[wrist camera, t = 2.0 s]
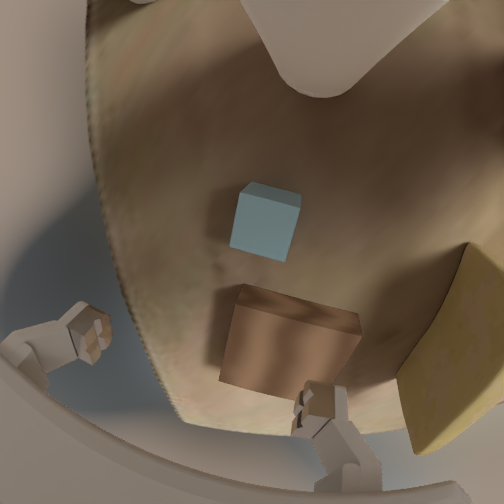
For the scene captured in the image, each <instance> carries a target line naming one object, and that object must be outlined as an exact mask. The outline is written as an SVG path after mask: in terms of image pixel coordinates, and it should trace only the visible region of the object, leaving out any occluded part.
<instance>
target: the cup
mask: <svg viewBox="0 0 504 504" xmlns="http://www.w3.org/2000/svg"><path fill="white" fill-rule="evenodd" d="M130 1H132V2H134V3H137V4H146V3H151V2H154V1H157V0H130Z"/></svg>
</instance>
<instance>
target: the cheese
mask: <svg viewBox="0 0 504 504" xmlns="http://www.w3.org/2000/svg"><path fill="white" fill-rule="evenodd" d="M396 379H397V385H398V390H399V396H400V401H401V406H402V410H403V415H404V418H405V422H406V425H407V429H408V433H409V436H410V440H411V444H412V448H413V452H414V454H416V455H427V454H430V453H432V452H434V451H436V450H438V449H439V448H441V447H443V446H444V445H445V444H447V443H448V442H449V441H451V440H452V439H454V438H455V437H456V436H457V435H459V434H460V433H461V432H463V431H464V430H465V429H467V428H468V427H469V426H471V425H472V424H473V423H474V422H476V421H477V420H478V419H479V418H480V417H482V416H483V415H484V414H485V413H486V412H487V411H488V410H490V409H491V408H492V407H493V406H494V405H495V404H497V403H498V402H499V401H500V400H501V399H502V398H503V397H504V264H503V263H502V262H501V261H499V260H498V259H497V258H496V257H494V256H493V255H492V254H490V253H489V252H488V251H486V250H485V249H483V248H482V247H480V246H479V245H477V244H475V243H469V244H468V245H467V246H466V249H465V251H464V254H463V257H462V260H461V262H460V265H459V268H458V270H457V273H456V275H455V278H454V280H453V282H452V285H451V287H450V289H449V292H448V294H447V296H446V298H445V300H444V302H443V304H442V306H441V308H440V310H439V312H438V314H437V316H436V317H435V319H434V321H433V322H432V324H431V325H430V327H429V328H428V330H427V331H426V333H425V334H424V335H423V337H422V338H421V339H420V341H419V342H418V343H417V345H416V346H415V348H414V349H413V350H412V352H411V353H410V355H409V356H408V358H407V359H406V360H405V362H404V363H403V365H402V366H401V367H400V369H399V370H398V372H397V374H396Z"/></svg>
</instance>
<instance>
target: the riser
mask: <svg viewBox="0 0 504 504" xmlns="http://www.w3.org/2000/svg"><path fill="white" fill-rule="evenodd" d="M361 338H362V331H361V326H360V320H359V315H358V314H356V313H352V312H348V311H344V310H340V309H336V308H332V307H329V306H325V305H321V304H317V303H313V302H309V301H305V300H302V299H298V298H294V297H290V296H287V295H283V294H279V293H276V292H272V291H269V290H265V289H261V288H258V287H254V286H251V285H247V284H243V286H242V289H241V291H240V294H239V296H238V298H237V301H236V303H235V307H234V312H233V316H232V321H231V325H230V330H229V335H228V339H227V344H226V348H225V353H224V357H223V362H222V367H221V371H220V376H219V380H218V381H221V382H224V383H227V384H231V385H234V386H237V387H241V388H245V389H248V390H252V391H256V392H260V393H264V394H268V395H272V396H276V397H281V398H285V399H290V400H295V401H296V398H297V396H298V394H299V392H300V391H302V390H304V384H305V383H306V381H307V380H313V381H318V382H324V383H330V384H332V383H333V381H334V380H335V378H336V377H337V375H338V374H339V372H340V371H341V369H342V368H343V366H344V365H345V363H346V362H347V360H348V359H349V357H350V356H351V354H352V353H353V351H354V349H355V348H356V346H357V345H358V343H359V341H360V340H361Z"/></svg>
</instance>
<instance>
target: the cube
mask: <svg viewBox="0 0 504 504" xmlns="http://www.w3.org/2000/svg"><path fill="white" fill-rule="evenodd" d="M301 198H302V195H301V194H298V193H294V192H291V191H287V190H283V189H279V188H276V187H272V186H268V185H264V184H260V183H256V182H251V183H249V184H248V185H247V186H246V187H245V188H244V189H243V190H242V191H241V192H240V194H239V199H238V204H237V209H236V214H235V219H234V224H233V230H232V235H231V240H230V245H229V247H231V248H235V249H238V250H242V251H246V252H249V253H253V254H256V255H260V256H263V257H267V258H271V259H274V260H278V261H281V262H285V260H286V257H287V253H288V250H289V247H290V243H291V240H292V236H293V233H294V230H295V226H296V223H297V219H298V216H299V212H300V209H301Z"/></svg>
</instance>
